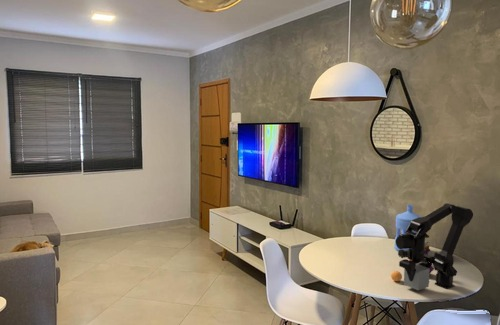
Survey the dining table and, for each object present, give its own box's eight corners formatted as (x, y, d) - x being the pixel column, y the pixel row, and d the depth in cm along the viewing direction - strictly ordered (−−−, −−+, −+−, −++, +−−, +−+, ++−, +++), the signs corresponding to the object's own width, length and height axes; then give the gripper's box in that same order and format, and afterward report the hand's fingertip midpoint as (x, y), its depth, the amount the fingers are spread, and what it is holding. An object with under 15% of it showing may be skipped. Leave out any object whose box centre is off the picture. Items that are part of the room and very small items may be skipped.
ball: (403, 281, 186) (404, 271, 185) (397, 283, 183) (397, 274, 183) (395, 278, 190) (395, 268, 190) (388, 280, 188) (389, 270, 187)
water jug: (416, 246, 240) (419, 203, 237) (425, 254, 224) (428, 208, 221) (391, 245, 241) (393, 202, 238) (398, 253, 226) (400, 207, 223)
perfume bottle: (418, 270, 200) (420, 237, 198) (433, 274, 195) (435, 240, 193) (414, 275, 194) (415, 241, 192) (429, 278, 190) (431, 244, 188)
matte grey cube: (428, 286, 176) (429, 268, 175) (418, 290, 172) (419, 271, 171) (414, 280, 183) (414, 263, 182) (403, 284, 179) (404, 266, 178)
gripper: (415, 239, 187) (413, 269, 189) (390, 245, 178) (388, 277, 179) (436, 245, 178) (434, 277, 179) (410, 252, 168) (409, 286, 170)
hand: (416, 279), depth 177 cm, fingers closed on matte grey cube, 8 cm apart
